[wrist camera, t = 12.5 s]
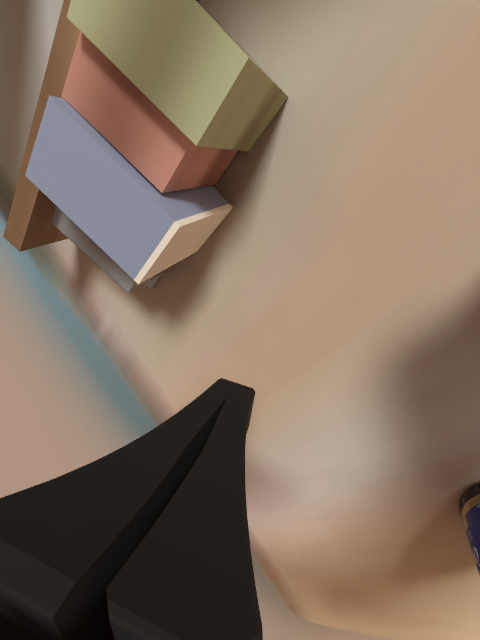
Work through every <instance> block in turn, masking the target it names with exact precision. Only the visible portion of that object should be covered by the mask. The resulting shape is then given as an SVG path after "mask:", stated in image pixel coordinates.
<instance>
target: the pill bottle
mask: <svg viewBox="0 0 480 640" xmlns="http://www.w3.org/2000/svg"><path fill="white" fill-rule="evenodd" d="M459 512H460V514H461V518H462V520H463V524H464V527H465V530H466V533H467V537H468V540H469V543H470V546H471V549H472V553H473V556H474V559H475V562H476V565H477V569H478V572H479V575H480V485H476V486H474V487H472V488H471V489H470V490H468V491H467V492H466V493H465V494H464V495H463V496H462V498H461V501H460V505H459Z"/></svg>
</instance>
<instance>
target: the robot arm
mask: <svg viewBox="0 0 480 640" xmlns="http://www.w3.org/2000/svg"><path fill="white" fill-rule="evenodd" d="M254 396H255V391H254V389H253V388H250V387H247V386H244V385H241V384H238V383H235V382H232V381H228V380H225V379H222V378H221V379H219V380H217V381H216V382H215V383H214V384H213V385H212V386H211V387H209V388H208V389H207V390H206V391H205V392H204V393H202V394H201V395H200V396H199V397H197V398H196V399H195V400H194V401H192V402H191V403H190V404H188V405H187V406H186V407H184V408H183V409H182V410H181V411H179V412H178V413H176V414H175V415H174V416H172V417H171V418H169V419H168V420H166V421H165V422H163V423H162V424H160V425H159V426H157V427H156V428H154V429H153V430H151V431H150V432H148V433H147V434H145V435H143V436H141V437H140V438H138V439H136V440H134V441H133V442H131V443H129V444H127V445H126V446H124V447H122V448H120V449H118V450H116V451H114V452H112V453H110V454H108V455H106V456H104V457H102V458H100V459H98V460H96V461H94V462H92V463H90V464H87V465H85V466H83V467H80V468H78V469H76V470H74V471H71V472H69V473H67V474H64V475H62V476H60V477H57V478H55V479H52V480H50V481H47V482H44V483H41V484H39V485H36V486H33V487H31V488H28V489H25V490H22V491H19V492H17V493H14V494H11V495H8V496H5V497H3V498H0V640H263V638H262V623H261V617H260V611H259V606H258V599H257V593H256V586H255V580H254V572H253V565H252V558H251V550H250V540H249V530H248V521H247V509H246V493H245V441H246V433H247V430H248V427H249V422H250V417H251V412H252V406H253V401H254Z"/></svg>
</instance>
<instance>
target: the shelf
mask: <svg viewBox="0 0 480 640" xmlns="http://www.w3.org/2000/svg"><path fill="white" fill-rule="evenodd" d="M197 1H198V0H64V2H63V6H62V10H61V14H60V18H59V21H58V25H57V29H56V33H55V37H54V41H53V45H52V49H51V53H50V57H49V61H48V65H47V68H46V72H45V76H44V80H43V84H42V88H41V92H40V96H39V100H38V104H37V108H36V112H35V115H34V119H33V123H32V127H31V131H30V135H29V139H28V143H27V147H26V151H25V155H24V159H23V162H22V166H21V170H20V174H19V178H18V182H17V186H16V190H15V194H14V198H13V202H12V206H11V209H10V213H9V217H8V221H7V225H6V229H5V233H4V238H5V239H7V240H8V241H9V242H10V243H11V244H12V245H13V246H14V247H16V248H17V249H18V250H19V251H23V250H27V249H31V248H35V247H39V246H42V245H46V244H50V243H54V242H57V241H61V240H65V239H70V240H71V241H72V242H73V243H74V244H75V245H76V246H77V247H78V248H79V249H81V250H82V251H83V252H84V253H85V254H86V255H87V256H88V257H89V258H90V259H91V260H93V261H94V262H95V263H96V264H97V265H98V266H99V267H100V268H101V269H102V270H104V271H105V272H106V273H107V274H108V275H109V276H110V277H111V278H112V279H113V280H114V281H116V282H117V283H118V284H119V285H120V286H121V287H122V288H123V289H124V290H125V291H126V292H128V293H129V292H131V291H132V290H134V289H136V288H138V287H139V286H141V285H143V284H144V285H145V286H146V287H147V288H148V289H149V290H151V289H152V288H153V287H154V285H155V284H156V282H157V281H158V280H159V278H160V277H161V275H162V274H163V273H164V271H165V270H166V269H165V270H163V271H161V272H160V273H158V274H156V275H154V276H153V277H151V278H149V279H147V280H145V281H144V282H142V283H140V284H137V283H136V282H135V281H134V280H133V279H132V278H131V277H130V276H129V275H128V274H127V273H126V272H125V271H124V270H123V269H122V268H121V267H120V266H119V265H118V264H117V263H116V262H115V261H113V260H112V259H111V258H110V257H109V256H108V255H107V254H106V253H105V252H104V251H103V250H102V249H101V248H100V247H99V246H98V245H97V244H96V243H95V242H94V241H93V240H92V239H91V238H90V237H89V236H88V235H86V234H85V233H84V232H83V231H82V230H81V229H80V228H79V227H78V226H77V225H76V224H75V223H74V222H73V221H72V220H71V219H70V218H69V217H68V216H67V215H66V214H65V213H64V212H63V211H62V210H60V209H59V208H58V207H57V206H56V205H55V204H54V203H53V202H52V201H51V200H50V199H49V198H48V197H47V196H46V195H45V194H44V193H43V192H42V191H41V190H40V189H39V188H38V187H37V186H36V185H35V184H33V183H32V182H31V181H30V180H29V179H28V178H27V177H26V176H25V174H26V171H27V167H28V164H29V161H30V157H31V154H32V151H33V147H34V144H35V141H36V138H37V134H38V131H39V128H40V124H41V121H42V118H43V114H44V111H45V108H46V104H47V101H48V98H49V95H50V96H54V97H59V98H63V99H65V100H66V101H67V102H68V103H69V104H70V105H71V106H72V107H73V108H74V109H75V110H76V111H77V112H79V113H80V114H81V115H82V116H83V117H84V118H85V119H86V120H87V121H88V122H89V123H90V124H91V125H92V126H93V127H94V128H95V129H96V130H97V131H98V132H99V133H100V134H101V135H102V136H103V137H104V138H106V139H107V140H108V141H109V142H110V143H111V144H112V145H113V146H114V147H115V148H116V149H117V150H118V151H119V152H120V153H121V154H122V155H123V156H124V157H125V158H126V159H127V160H128V161H129V162H130V163H131V164H132V165H134V166H135V167H136V168H137V169H138V170H139V171H140V172H141V173H142V174H143V175H144V176H145V177H146V178H147V179H148V180H149V181H150V182H151V183H152V184H153V185H154V186H155V187H156V188H157V189H158V190H159V191H160V192H162V193H165V192H172V191H178V190H184V189H191V188H197V187H203V186H210V185H215V184H216V183H217V181H218V180H219V179H220V177H221V176H222V174H223V173H224V171H225V170H226V168H227V167H228V165H229V164H230V163H231V161H232V160H233V158H234V157H235V155H236V154H237V152H238V151H248V152H249V151H250V150H251V149H252V147H253V146H254V144H255V143H256V142H257V140H258V139H259V137H260V136H261V135H262V133H263V132H264V130H265V129H266V128H267V126H268V125H269V123H270V122H271V121H272V119H273V118H274V116H275V115H276V113H277V112H278V111H279V109H280V108H281V106H282V105H283V104H284V102H285V101H286V99H287V98H288V96H287V95H286V94H285V93H284V92H283V91H282V90H281V89H280V88H279V87H278V86H277V85H276V84H275V83H274V82H273V81H272V80H271V79H270V77H269V76H268V75H267V74H266V73H265V72H264V71H263V70H262V69H261V68H260V67H259V66H258V65H257V64H256V63H255V62H254V61H253V60H252V59H251V58H250V57H249V55H248V54H247V53H246V52H245V51H244V50H243V49H242V48H241V47H240V46H239V45H238V44H237V43H236V42H235V41H234V40H233V39H232V38H231V37H230V36H229V34H228V33H227V32H226V31H225V30H224V29H223V28H222V27H221V26H220V25H219V24H218V23H217V22H216V21H215V20H214V19H213V18H212V17H211V16H210V15H209V14H208V12H207V11H206V10H205V9H204V8H203V7H202V6H201V5H200V4H199V3H198V2H197Z"/></svg>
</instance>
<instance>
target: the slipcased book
mask: <svg viewBox="0 0 480 640" xmlns="http://www.w3.org/2000/svg"><path fill="white" fill-rule="evenodd" d="M25 176H26V177H27V178H28V179H29V180H30V181H31V182H32V183H33V184H35V185H36V186H37V187H38V188H39V189H40V190H41V191H42V192H43V193H44V194H45V195H46V196H47V197H48V198H49V199H50V200H51V201H52V202H53V203H54V204H55V205H56V206H57V207H58V208H59V209H60V210H62V211H63V212H64V213H65V214H66V215H67V216H68V217H69V218H70V219H71V220H72V221H73V222H74V223H75V224H76V225H77V226H78V227H79V228H80V229H81V230H82V231H83V232H84V233H85V234H86V235H88V236H89V237H90V238H91V239H92V240H93V241H94V242H95V243H96V244H97V245H98V246H99V247H100V248H101V249H102V250H103V251H104V252H105V253H106V254H107V255H108V256H109V257H110V258H111V259H112V260H113V261H115V262H116V263H117V264H118V265H119V266H120V267H121V268H122V269H123V270H124V271H125V272H126V273H127V274H128V275H129V276H130V277H131V278H132V279H133V280H134V281H135V282H136V283H137V284H140V283H142V282H144V281H145V280H147V279H149V278H151V277H153V276H154V275H156V274H158V273H160V272H161V271H163V270H165V269H167V268H169V267H170V266H172V265H174V264H176V263H177V262H179V261H181V260H183V259H184V258H186V257H188V256H190V255H192V254H193V253H195V252H197V251H198V250H199V249H200V248H201V246H202V245H203V244H204V243H205V241H206V240H207V239H208V238H209V236H210V235H211V234H212V233H213V232H214V230H215V229H216V228H217V227H218V225H219V224H220V223H221V222H222V220H223V219H224V218H225V217H226V216H227V214H228V213H229V212H230V211H231V209H232V208H233V207H232V206H231V204H230V203H229V202H228V201H227V200H226V199H225V198H224V197H223V196H222V195H221V194H220V193H219V192H218V191H217V190H216V189H215V188H214V187H213V186H212V185H210V186H203V187H197V188H191V189H184V190H178V191H172V192H165V193H162V192H160V191H159V190H158V189H157V188H156V187H155V186H154V185H153V184H152V183H151V182H150V181H149V180H148V179H147V178H146V177H145V176H144V175H143V174H142V173H141V172H140V171H139V170H138V169H137V168H136V167H135V166H134V165H132V164H131V163H130V162H129V161H128V160H127V159H126V158H125V157H124V156H123V155H122V154H121V153H120V152H119V151H118V150H117V149H116V148H115V147H114V146H113V145H112V144H111V143H110V142H109V141H108V140H107V139H106V138H104V137H103V136H102V135H101V134H100V133H99V132H98V131H97V130H96V129H95V128H94V127H93V126H92V125H91V124H90V123H89V122H88V121H87V120H86V119H85V118H84V117H83V116H82V115H81V114H80V113H79V112H77V111H76V110H75V109H74V108H73V107H72V106H71V105H70V104H69V103H68V102H67V101H66V100H65V99H63V98H59V97H54V96H50V95H49V98H48V101H47V104H46V108H45V111H44V114H43V118H42V121H41V124H40V128H39V131H38V134H37V138H36V141H35V144H34V147H33V151H32V154H31V157H30V161H29V164H28V167H27V171H26V174H25Z"/></svg>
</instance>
